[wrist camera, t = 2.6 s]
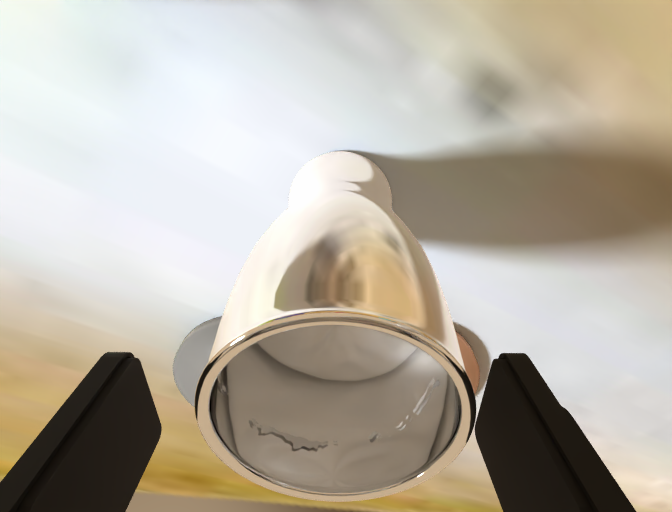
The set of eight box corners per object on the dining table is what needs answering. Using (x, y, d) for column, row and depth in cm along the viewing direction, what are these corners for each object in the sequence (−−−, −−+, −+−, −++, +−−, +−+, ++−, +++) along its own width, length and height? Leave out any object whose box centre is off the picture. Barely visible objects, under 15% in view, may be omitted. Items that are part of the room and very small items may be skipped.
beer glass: (339, 114, 19) (329, 235, 6) (423, 201, 22) (547, 427, 8) (258, 202, 22) (126, 424, 9) (340, 272, 24) (337, 533, 11)
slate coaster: (318, 315, 26) (317, 324, 25) (320, 418, 31) (320, 429, 30) (164, 313, 26) (157, 322, 25) (192, 416, 31) (188, 426, 30)
